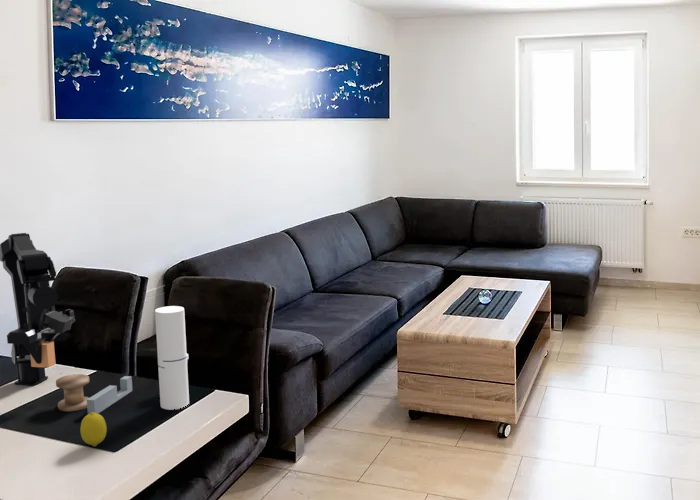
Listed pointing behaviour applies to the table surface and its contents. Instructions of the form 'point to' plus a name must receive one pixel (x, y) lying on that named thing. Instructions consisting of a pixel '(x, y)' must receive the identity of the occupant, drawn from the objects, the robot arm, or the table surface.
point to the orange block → (45, 356)
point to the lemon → (93, 429)
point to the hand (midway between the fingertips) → (43, 361)
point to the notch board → (109, 395)
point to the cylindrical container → (172, 357)
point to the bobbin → (73, 392)
